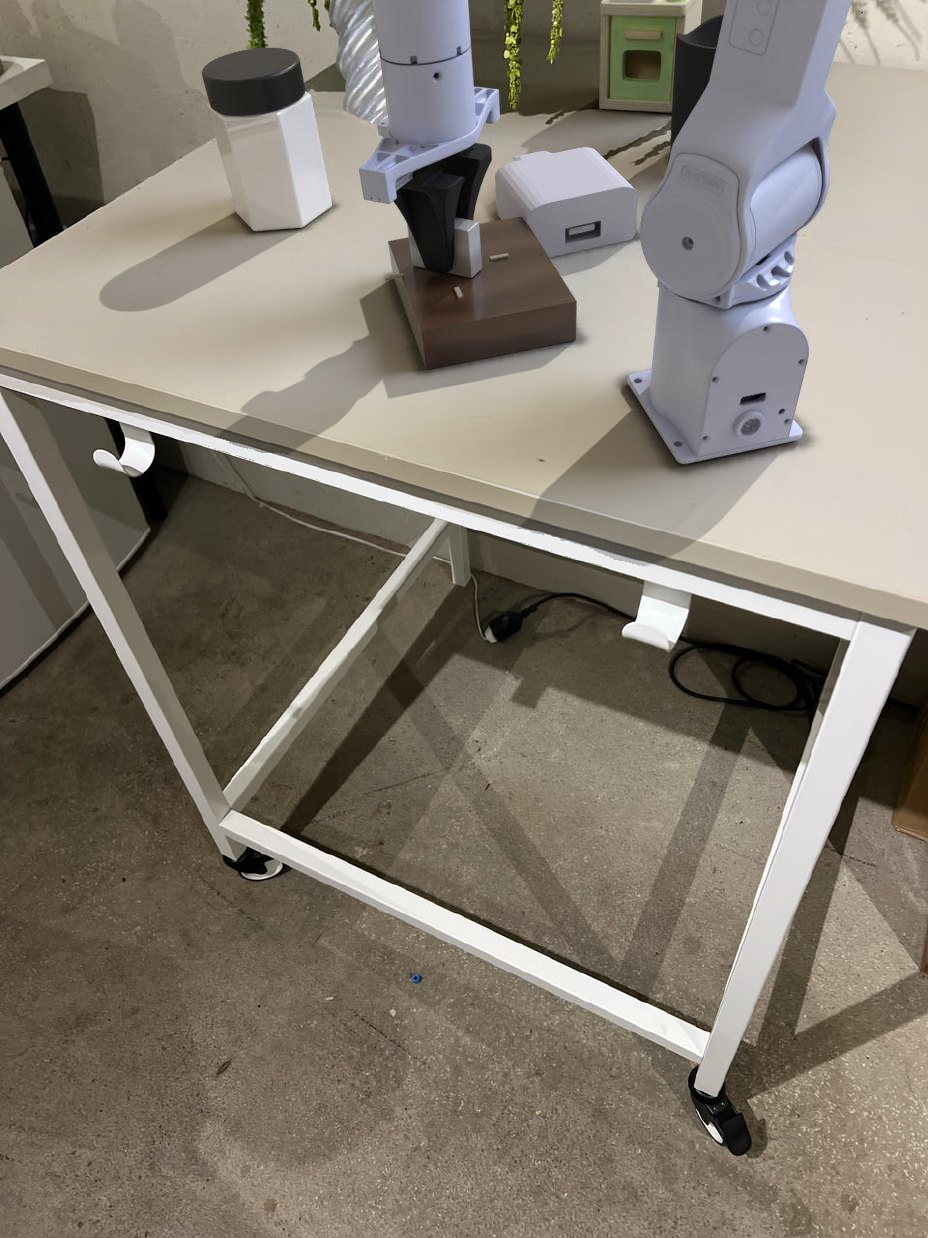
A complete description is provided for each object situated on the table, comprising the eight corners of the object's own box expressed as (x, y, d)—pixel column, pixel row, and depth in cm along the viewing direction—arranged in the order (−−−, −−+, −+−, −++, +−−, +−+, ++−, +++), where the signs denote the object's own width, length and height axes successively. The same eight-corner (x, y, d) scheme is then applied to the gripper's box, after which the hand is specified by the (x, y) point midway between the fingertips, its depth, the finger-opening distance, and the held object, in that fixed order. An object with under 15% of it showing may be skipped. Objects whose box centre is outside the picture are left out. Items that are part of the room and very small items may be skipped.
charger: (572, 173, 81) (635, 242, 71) (477, 194, 80) (529, 266, 70) (572, 118, 78) (639, 183, 68) (473, 139, 77) (527, 207, 67)
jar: (337, 187, 82) (310, 41, 73) (327, 227, 77) (297, 75, 68) (245, 195, 83) (206, 51, 74) (229, 234, 78) (185, 85, 69)
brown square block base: (576, 340, 62) (577, 298, 60) (409, 373, 61) (403, 332, 59) (524, 252, 71) (523, 213, 69) (378, 279, 70) (372, 241, 68)
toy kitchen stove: (594, 111, 90) (599, -45, 80) (616, 85, 94) (622, -66, 84) (676, 117, 87) (691, -44, 77) (694, 90, 91) (711, -66, 81)
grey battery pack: (482, 268, 64) (479, 217, 61) (471, 278, 63) (467, 227, 60) (423, 255, 66) (417, 205, 63) (411, 265, 65) (405, 215, 62)
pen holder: (657, 141, 83) (666, 19, 76) (755, 131, 83) (775, 7, 75) (676, 182, 77) (689, 54, 70) (782, 172, 77) (807, 41, 69)
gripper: (431, 9, 59) (450, 210, 69) (303, 83, 51) (345, 297, 62) (523, 16, 56) (528, 224, 67) (403, 96, 49) (429, 317, 59)
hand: (446, 261), depth 64 cm, fingers closed on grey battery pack, 2 cm apart
